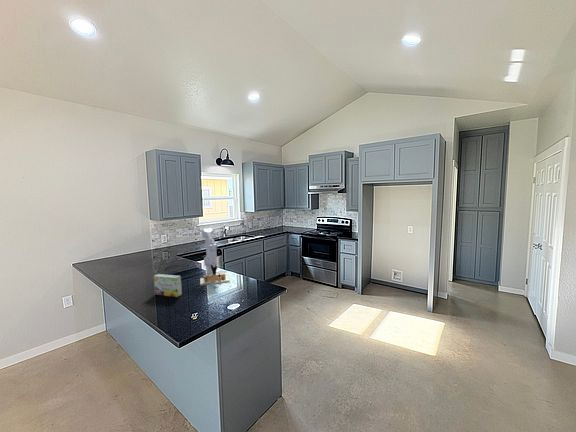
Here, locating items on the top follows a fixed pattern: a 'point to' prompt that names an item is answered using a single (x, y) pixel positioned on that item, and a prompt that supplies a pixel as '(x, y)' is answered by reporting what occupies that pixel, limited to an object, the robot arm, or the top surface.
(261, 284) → the top surface
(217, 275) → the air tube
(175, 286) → the snack box
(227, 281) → the firebox plate
